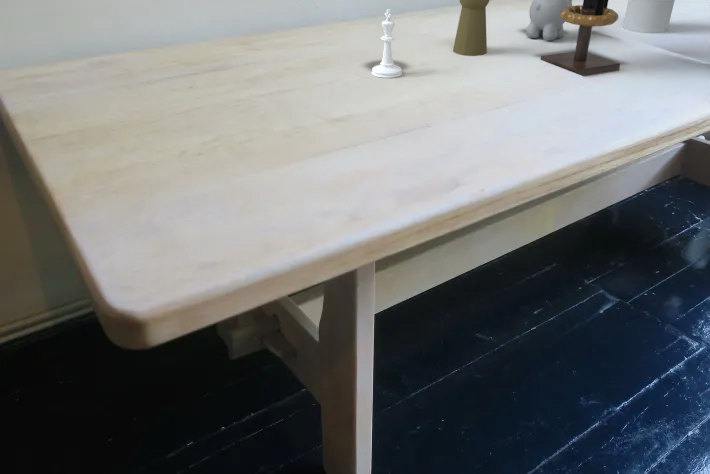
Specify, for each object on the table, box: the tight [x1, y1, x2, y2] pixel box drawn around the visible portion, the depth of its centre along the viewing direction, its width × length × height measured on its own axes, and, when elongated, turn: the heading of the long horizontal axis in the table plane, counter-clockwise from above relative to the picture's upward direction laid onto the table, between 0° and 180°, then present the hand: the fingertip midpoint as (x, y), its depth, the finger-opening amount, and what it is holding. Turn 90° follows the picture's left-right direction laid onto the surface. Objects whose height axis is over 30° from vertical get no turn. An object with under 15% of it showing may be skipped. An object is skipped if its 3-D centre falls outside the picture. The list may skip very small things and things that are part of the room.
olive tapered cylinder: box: [452, 0, 490, 56], centre depth 116 cm, size 6×6×11 cm
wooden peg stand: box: [540, 8, 621, 77], centre depth 109 cm, size 9×9×9 cm
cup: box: [622, 0, 675, 35], centre depth 127 cm, size 8×8×12 cm
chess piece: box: [371, 8, 403, 79], centre depth 105 cm, size 5×5×10 cm
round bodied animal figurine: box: [525, 0, 573, 41], centre depth 127 cm, size 7×12×8 cm, turn 135°
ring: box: [560, 4, 619, 27], centre depth 107 cm, size 9×9×2 cm
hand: (593, 15), depth 110 cm, fingers closed on ring, 2 cm apart
